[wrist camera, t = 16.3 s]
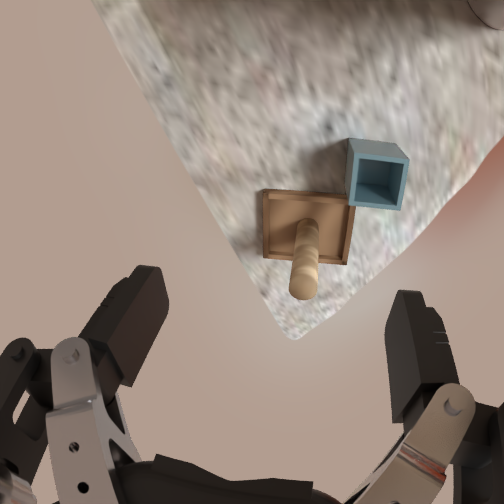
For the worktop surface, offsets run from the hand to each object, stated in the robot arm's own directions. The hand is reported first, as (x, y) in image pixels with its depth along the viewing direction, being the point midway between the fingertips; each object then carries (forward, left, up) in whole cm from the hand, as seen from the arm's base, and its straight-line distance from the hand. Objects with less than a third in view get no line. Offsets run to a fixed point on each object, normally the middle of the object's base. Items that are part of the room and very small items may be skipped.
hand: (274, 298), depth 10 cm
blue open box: (-9, +6, -34) cm, 36 cm away
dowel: (-1, +17, -34) cm, 37 cm away
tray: (-1, +17, -34) cm, 38 cm away
